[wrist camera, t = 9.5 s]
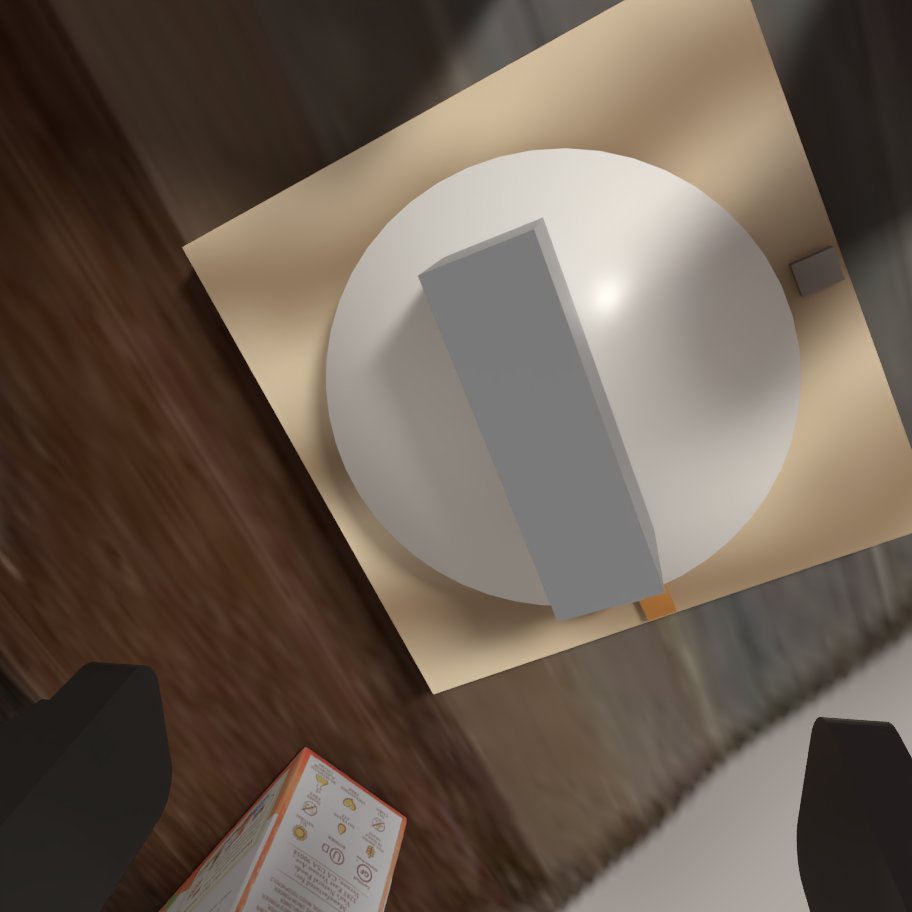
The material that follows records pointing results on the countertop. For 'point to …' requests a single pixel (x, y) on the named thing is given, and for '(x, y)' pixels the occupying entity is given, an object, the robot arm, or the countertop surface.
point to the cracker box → (301, 849)
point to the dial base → (622, 133)
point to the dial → (563, 378)
